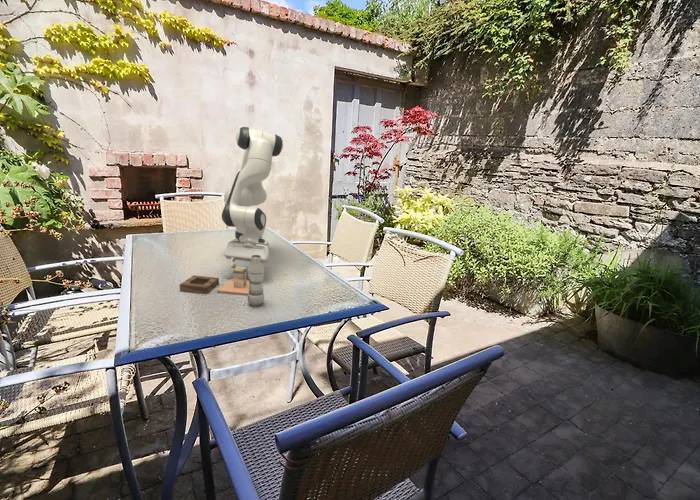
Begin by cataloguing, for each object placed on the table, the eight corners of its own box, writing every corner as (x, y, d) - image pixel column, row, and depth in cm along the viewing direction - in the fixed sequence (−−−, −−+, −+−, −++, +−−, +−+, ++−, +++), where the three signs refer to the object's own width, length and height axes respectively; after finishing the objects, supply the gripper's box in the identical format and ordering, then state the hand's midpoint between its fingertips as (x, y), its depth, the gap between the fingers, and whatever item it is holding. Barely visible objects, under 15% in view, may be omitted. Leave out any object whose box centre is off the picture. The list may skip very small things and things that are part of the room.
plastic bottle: (247, 308, 136) (247, 259, 131) (247, 300, 142) (247, 253, 137) (264, 307, 138) (265, 258, 133) (263, 300, 144) (264, 253, 139)
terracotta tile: (230, 280, 161) (230, 278, 161) (260, 283, 161) (260, 281, 160) (217, 292, 148) (217, 290, 148) (249, 295, 147) (249, 293, 147)
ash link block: (237, 283, 156) (237, 266, 154) (246, 284, 156) (246, 267, 154) (233, 287, 152) (233, 269, 150) (242, 288, 152) (242, 270, 150)
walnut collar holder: (193, 281, 157) (193, 275, 156) (218, 284, 157) (218, 277, 156) (179, 291, 146) (179, 284, 145) (206, 294, 146) (206, 287, 145)
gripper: (227, 236, 162) (218, 263, 155) (270, 241, 161) (263, 268, 154) (231, 243, 168) (222, 269, 161) (273, 247, 166) (266, 274, 160)
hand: (243, 268), depth 158 cm, fingers open, 8 cm apart
